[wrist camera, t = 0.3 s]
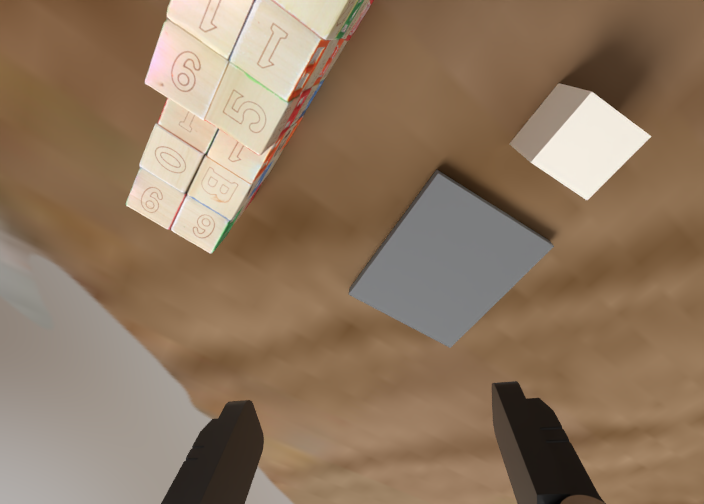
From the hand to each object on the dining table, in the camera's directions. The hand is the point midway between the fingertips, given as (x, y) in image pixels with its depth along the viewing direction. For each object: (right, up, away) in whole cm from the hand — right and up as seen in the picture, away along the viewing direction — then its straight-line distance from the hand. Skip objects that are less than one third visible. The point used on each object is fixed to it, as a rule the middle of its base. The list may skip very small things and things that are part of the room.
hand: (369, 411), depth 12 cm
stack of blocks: (-6, +19, +15) cm, 25 cm away
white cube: (+15, +14, +16) cm, 26 cm away
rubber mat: (+8, +4, +22) cm, 24 cm away
